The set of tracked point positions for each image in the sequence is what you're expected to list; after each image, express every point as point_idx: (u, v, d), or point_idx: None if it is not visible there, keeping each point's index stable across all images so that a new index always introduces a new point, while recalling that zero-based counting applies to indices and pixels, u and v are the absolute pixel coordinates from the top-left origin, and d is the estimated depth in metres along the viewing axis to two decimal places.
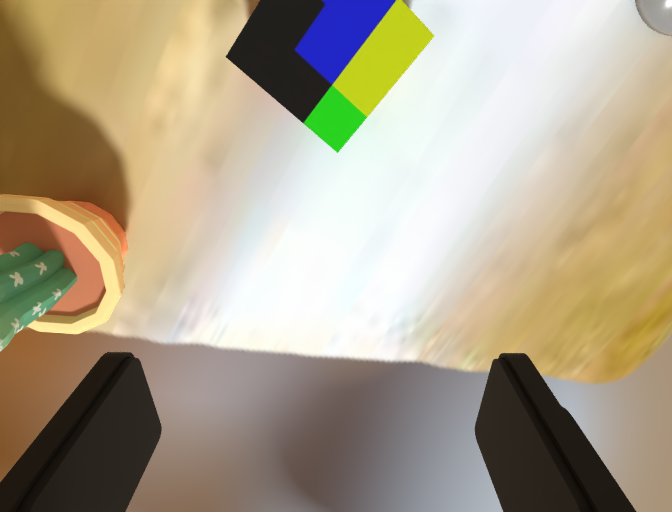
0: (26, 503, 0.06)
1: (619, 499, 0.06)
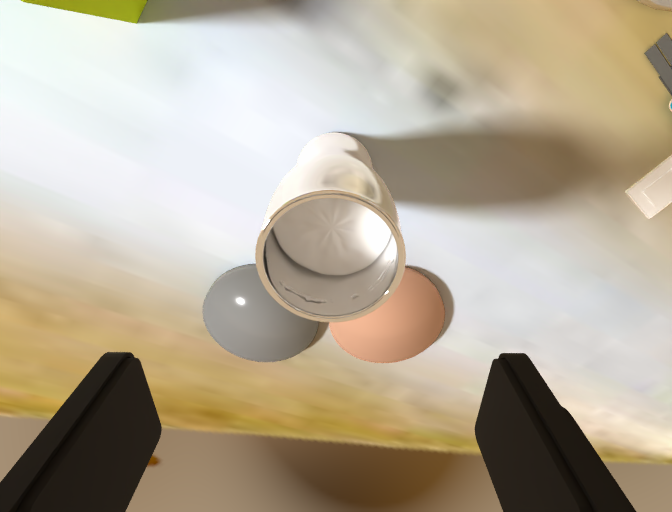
0: (26, 503, 0.06)
1: (619, 499, 0.06)
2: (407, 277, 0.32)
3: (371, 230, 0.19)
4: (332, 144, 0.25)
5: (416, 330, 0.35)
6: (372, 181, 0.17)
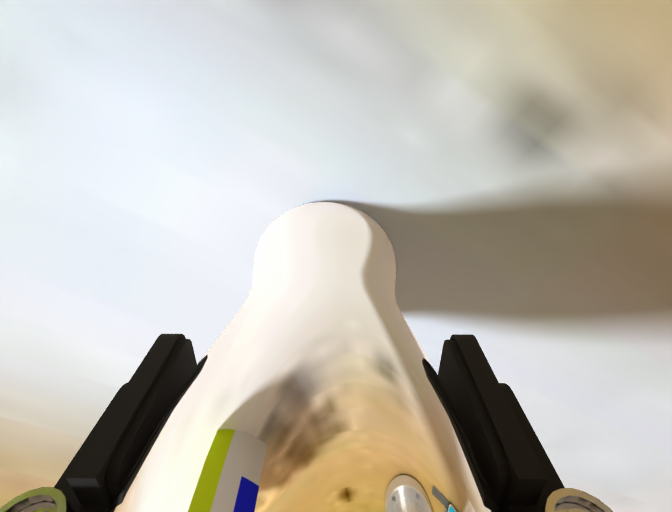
0: (114, 462, 0.07)
1: (534, 458, 0.07)
2: None
3: None
4: (318, 239, 0.12)
5: None
6: None
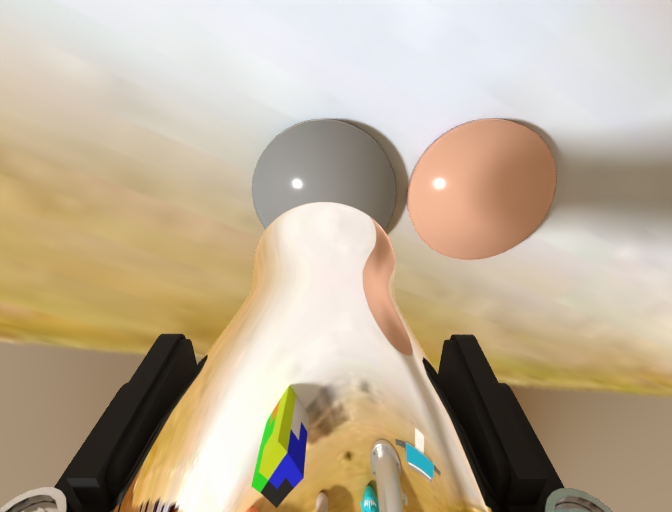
0: (114, 462, 0.07)
1: (533, 458, 0.07)
2: (516, 130, 0.25)
3: None
4: (318, 238, 0.12)
5: (516, 211, 0.28)
6: None
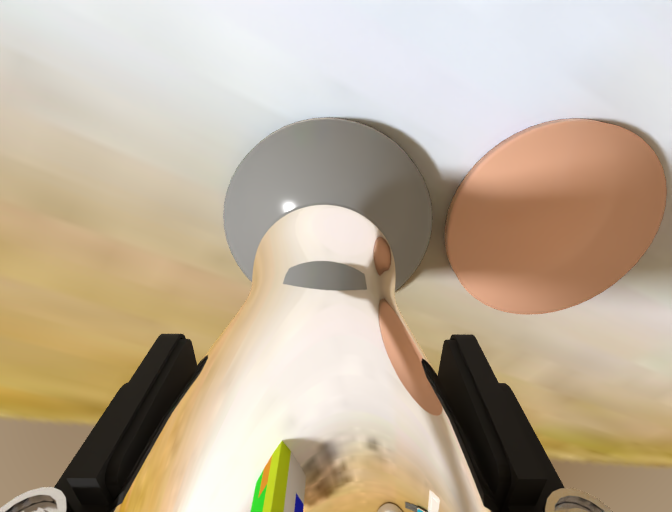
0: (114, 462, 0.07)
1: (534, 458, 0.07)
2: (615, 137, 0.17)
3: None
4: (318, 239, 0.12)
5: (602, 251, 0.20)
6: None
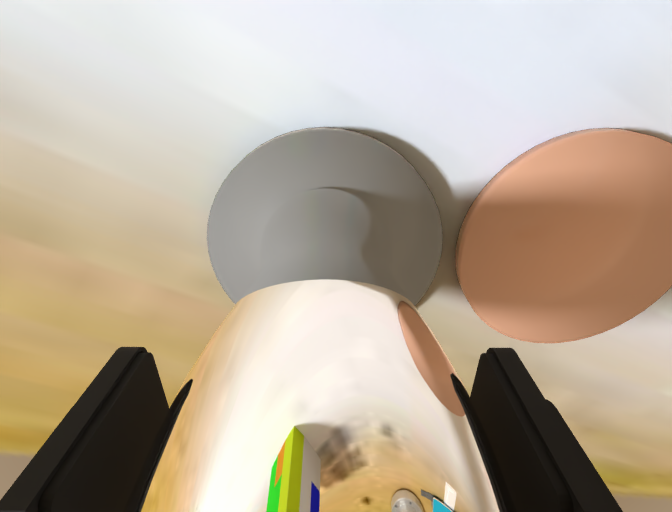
0: (49, 491, 0.06)
1: (597, 487, 0.06)
2: (652, 149, 0.15)
3: None
4: (322, 220, 0.13)
5: (631, 275, 0.18)
6: (459, 477, 0.05)
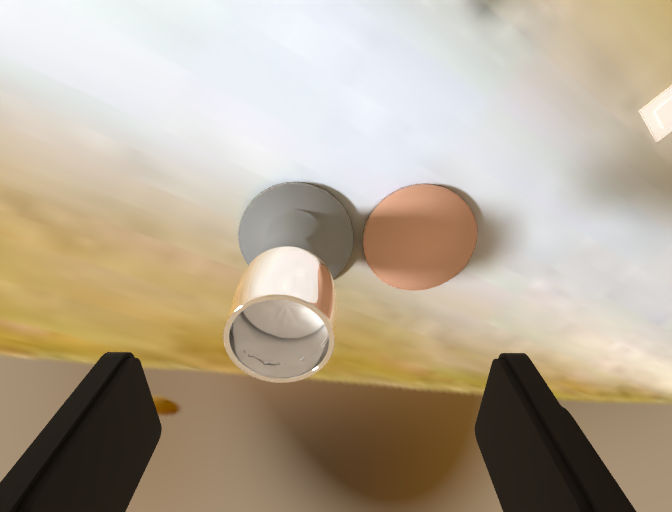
0: (26, 503, 0.06)
1: (619, 499, 0.06)
2: (443, 194, 0.33)
3: None
4: (292, 224, 0.31)
5: (448, 253, 0.36)
6: (312, 277, 0.23)
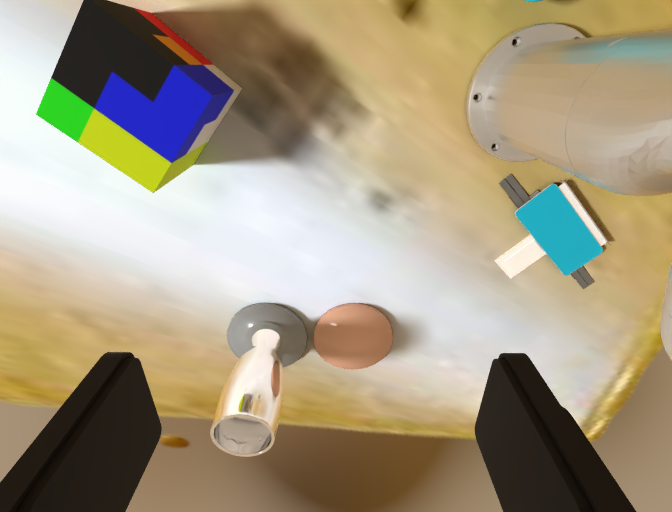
0: (26, 503, 0.06)
1: (619, 499, 0.06)
2: (365, 312, 0.48)
3: None
4: (261, 337, 0.47)
5: (374, 346, 0.51)
6: (263, 396, 0.38)
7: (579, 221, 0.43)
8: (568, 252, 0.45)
